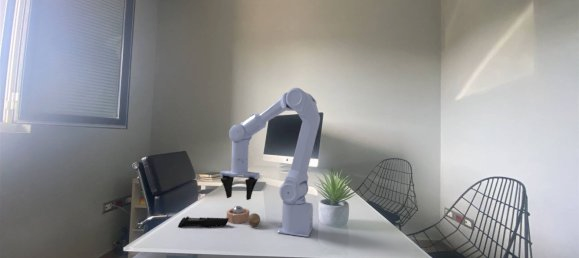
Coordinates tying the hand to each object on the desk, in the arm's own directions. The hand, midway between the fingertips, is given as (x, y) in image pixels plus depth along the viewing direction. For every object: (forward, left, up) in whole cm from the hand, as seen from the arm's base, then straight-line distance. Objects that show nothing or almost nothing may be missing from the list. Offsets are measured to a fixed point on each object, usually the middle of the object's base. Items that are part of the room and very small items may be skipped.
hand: (238, 198), depth 81 cm
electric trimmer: (+8, +9, -8) cm, 14 cm away
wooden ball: (-8, +4, -5) cm, 10 cm away
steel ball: (0, 0, -5) cm, 5 cm away
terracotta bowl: (0, 0, -7) cm, 7 cm away
